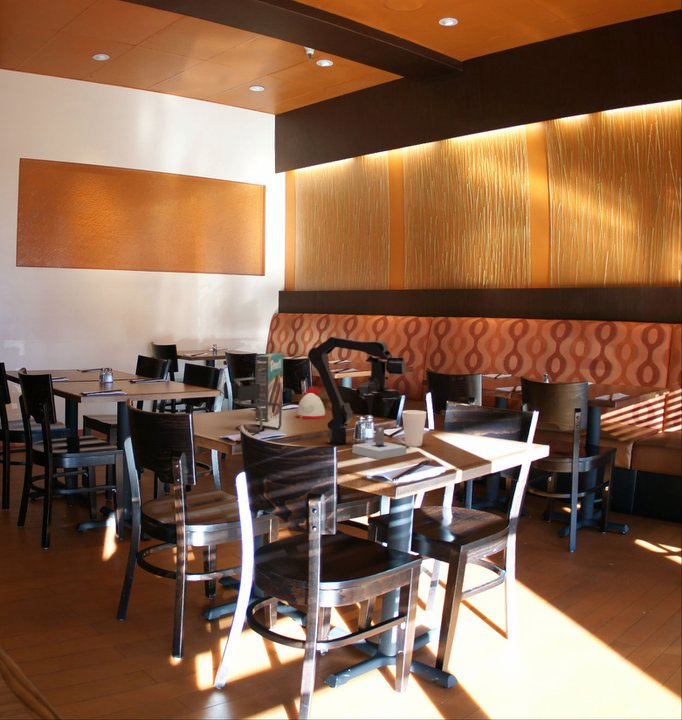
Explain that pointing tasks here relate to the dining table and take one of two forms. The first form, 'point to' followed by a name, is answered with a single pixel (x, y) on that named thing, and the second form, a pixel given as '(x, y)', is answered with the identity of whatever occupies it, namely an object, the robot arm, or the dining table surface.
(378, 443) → the pin
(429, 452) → the dining table surface
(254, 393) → the chair
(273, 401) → the cake mix box
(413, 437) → the foam cup
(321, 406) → the kitchen timer
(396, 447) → the socket block
